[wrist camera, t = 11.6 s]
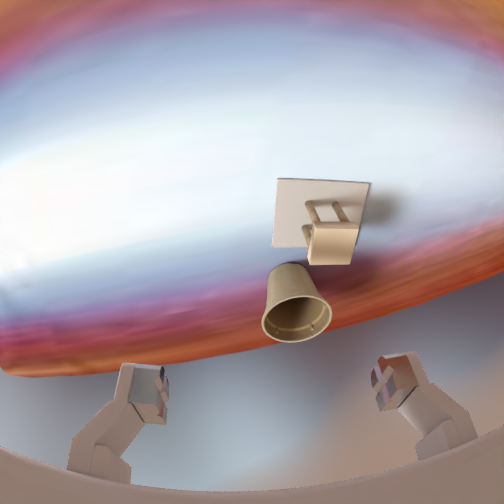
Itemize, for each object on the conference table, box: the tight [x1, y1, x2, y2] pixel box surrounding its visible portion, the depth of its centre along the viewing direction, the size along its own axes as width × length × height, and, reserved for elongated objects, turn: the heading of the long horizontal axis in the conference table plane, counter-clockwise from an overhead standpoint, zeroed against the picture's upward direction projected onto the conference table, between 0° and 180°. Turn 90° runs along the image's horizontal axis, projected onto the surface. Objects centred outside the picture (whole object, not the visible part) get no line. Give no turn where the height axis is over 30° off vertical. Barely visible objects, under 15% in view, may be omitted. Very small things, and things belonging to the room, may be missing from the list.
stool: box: [301, 200, 359, 265], centre depth 38 cm, size 5×5×7 cm
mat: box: [272, 178, 369, 247], centre depth 41 cm, size 10×12×1 cm
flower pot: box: [262, 263, 332, 342], centre depth 44 cm, size 9×9×9 cm
